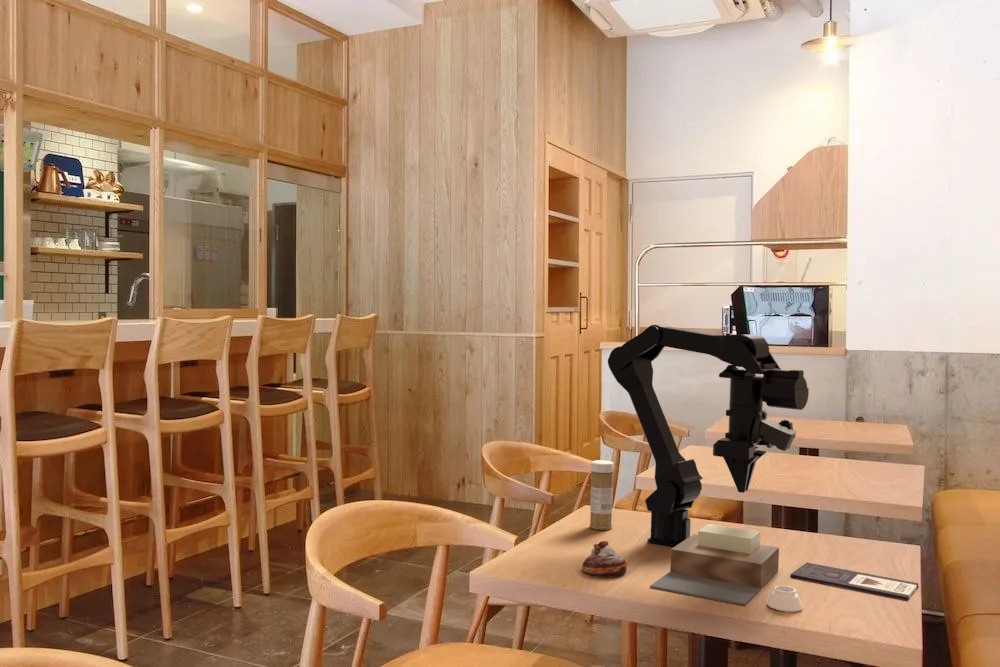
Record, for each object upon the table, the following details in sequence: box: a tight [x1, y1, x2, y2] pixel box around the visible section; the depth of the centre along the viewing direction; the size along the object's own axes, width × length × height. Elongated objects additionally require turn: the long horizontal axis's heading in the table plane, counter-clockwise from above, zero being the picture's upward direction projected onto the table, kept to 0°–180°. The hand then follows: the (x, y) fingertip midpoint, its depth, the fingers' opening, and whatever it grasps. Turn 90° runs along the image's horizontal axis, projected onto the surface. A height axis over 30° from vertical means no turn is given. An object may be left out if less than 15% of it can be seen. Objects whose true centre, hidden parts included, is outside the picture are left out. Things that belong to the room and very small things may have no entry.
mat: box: [649, 571, 761, 606], centre depth 140 cm, size 15×9×1 cm, turn 60°
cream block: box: [697, 523, 761, 554], centre depth 151 cm, size 9×6×2 cm, turn 60°
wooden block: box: [669, 533, 780, 590], centre depth 149 cm, size 15×12×4 cm
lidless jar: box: [766, 585, 803, 613], centre depth 132 cm, size 5×3×5 cm
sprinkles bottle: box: [589, 459, 615, 531], centre depth 177 cm, size 5×5×14 cm
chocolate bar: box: [790, 562, 919, 601], centre depth 146 cm, size 9×1×18 cm
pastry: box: [581, 540, 628, 578], centre depth 148 cm, size 8×8×5 cm
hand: (743, 491), depth 158 cm, fingers closed
